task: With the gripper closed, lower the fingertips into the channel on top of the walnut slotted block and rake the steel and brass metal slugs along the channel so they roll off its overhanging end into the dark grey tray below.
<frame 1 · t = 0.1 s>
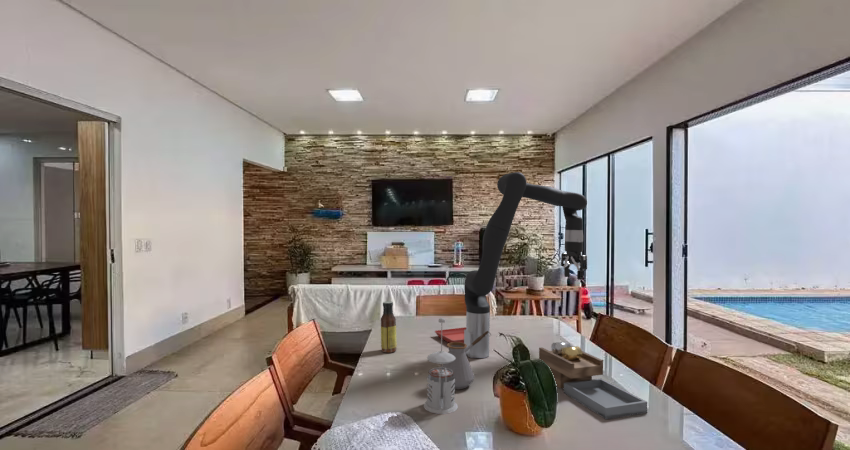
hand: (573, 278, 176), 29 cm above the table, tool pointing down, fingers open, 8 cm apart
coffee pot: (467, 381, 135), on the table
brass slug: (572, 359, 133), point 8 cm above the table, tilted 10°, touching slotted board
plant saucer: (460, 340, 184), on the table
french press: (440, 408, 115), on the table
steel slug: (561, 354, 139), point 8 cm above the table, touching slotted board
grey tray: (603, 402, 120), on the table
sauce bottle: (388, 351, 165), on the table
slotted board: (566, 380, 136), on the table
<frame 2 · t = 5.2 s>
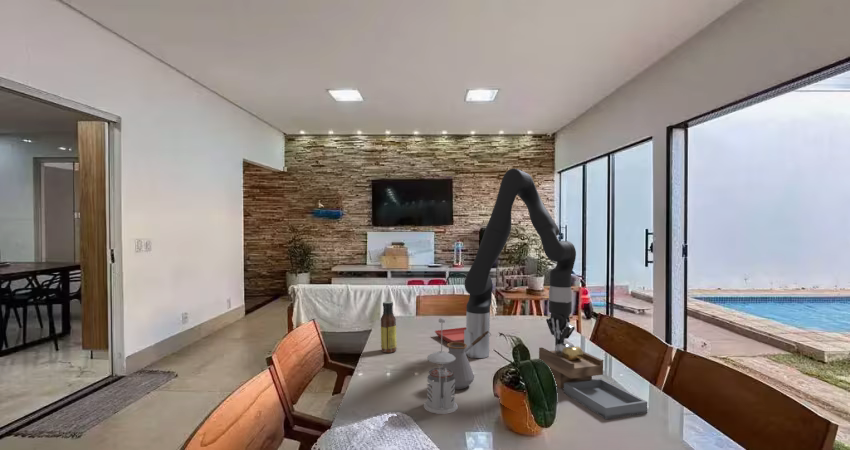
hand: (559, 349, 140), 9 cm above the table, tool pointing down, fingers closed
brass slug: (572, 359, 133), point 8 cm above the table, touching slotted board
steel slug: (562, 352, 138), point 9 cm above the table, tilted 49°, touching gripper, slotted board
everything else where it was.
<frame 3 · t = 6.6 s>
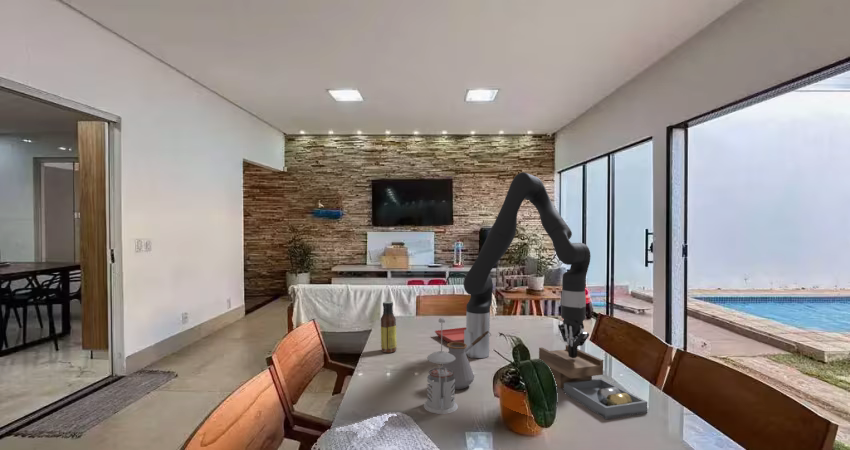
hand: (572, 357, 133), 9 cm above the table, tool pointing down, fingers closed
brass slug: (624, 402, 112), point 3 cm above the table, tilted 108°, touching grey tray, steel slug
steel slug: (614, 399, 116), point 3 cm above the table, tilted 84°, touching brass slug, grey tray
everything else where it was.
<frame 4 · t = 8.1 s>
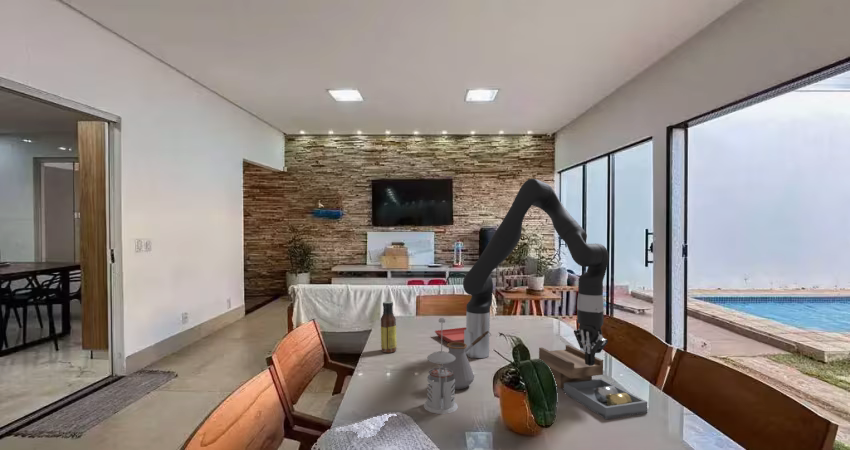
hand: (589, 364, 126), 9 cm above the table, tool pointing down, fingers closed
brass slug: (624, 401, 112), point 3 cm above the table, tilted 109°, touching grey tray
steel slug: (611, 393, 117), point 4 cm above the table, tilted 114°, touching grey tray
everything else where it was.
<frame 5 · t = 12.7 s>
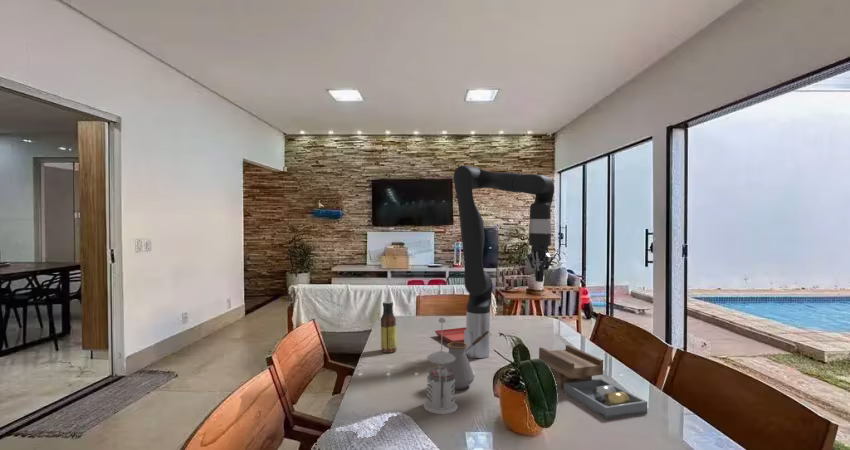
hand: (539, 281, 143), 32 cm above the table, tool pointing down, fingers closed
brass slug: (621, 397, 113), point 4 cm above the table, tilted 132°, touching grey tray
steel slug: (608, 390, 118), point 4 cm above the table, tilted 135°, touching grey tray
everything else where it was.
at the end: brass slug inside the target area (6.6 cm from its centre), point 4.1 cm above the table; steel slug inside the target area (1.6 cm from its centre), point 4.2 cm above the table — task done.
